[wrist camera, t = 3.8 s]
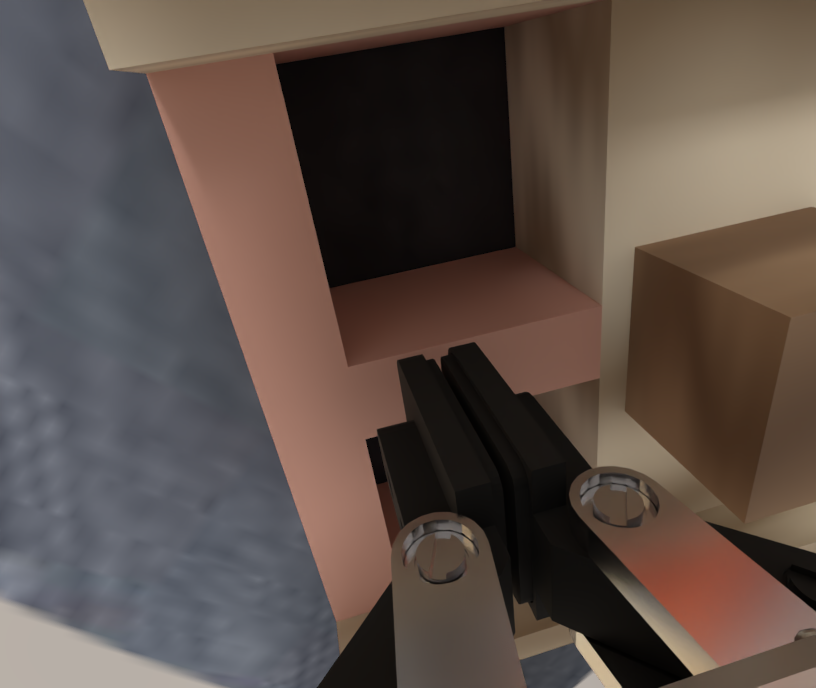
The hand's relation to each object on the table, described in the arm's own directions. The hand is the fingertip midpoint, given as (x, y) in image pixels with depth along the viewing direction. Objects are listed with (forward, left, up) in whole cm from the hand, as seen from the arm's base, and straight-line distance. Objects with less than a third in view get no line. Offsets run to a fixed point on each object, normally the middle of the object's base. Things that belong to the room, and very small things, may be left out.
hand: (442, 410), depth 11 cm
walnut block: (0, +7, -1) cm, 7 cm away
